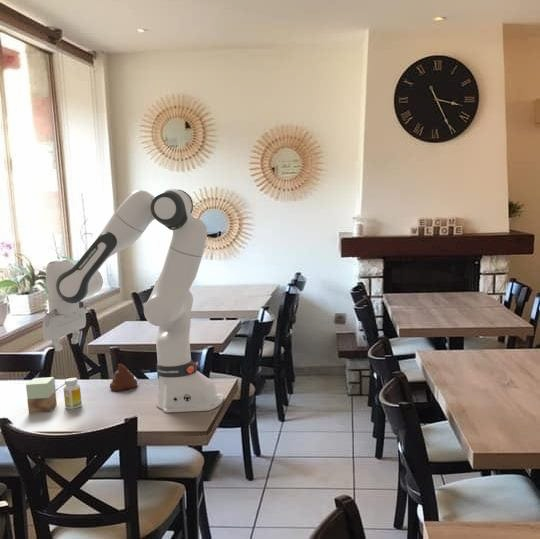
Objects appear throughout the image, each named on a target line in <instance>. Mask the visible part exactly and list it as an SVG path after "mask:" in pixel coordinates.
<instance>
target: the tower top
mask: <svg viewBox="0 0 540 539" xmlns="http://www.w3.org/2000/svg"><path fill="white" fill-rule="evenodd" d="M25 388H26V389H25V390H26V397H27V399H37V398H49V397H50V396H51V395H52V394H53V393H54V392H56V384H55V377H54V376H51V377H50V376H49V377H36V378H32V379H31V380H30V381H29V382H27V383H25Z"/></svg>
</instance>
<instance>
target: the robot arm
mask: <svg viewBox="0 0 540 539" xmlns="http://www.w3.org/2000/svg"><path fill="white" fill-rule="evenodd" d="M193 209H194V202H193V199H192V197H191V195H190V194H189V193H187V192H186V191H184V190H182V189H177V188H169V189H165V190H162V191H160V192H158V193H156V194H155V195H153V194H152V193H151V192H148V191H146V190H144V189H143V190H142V189H137V190H136V189H135V190H134V191H133V192H132V193H131V194H130V195H129V194H128V196H127V198H125V200H123V201H122V203H120V205H119V206H118V207H117V209H116V210H115V211H114V213H113V214H112V215H111V217H110V218H109V220H108V221H107V223H106V225H105V226H104V228H103V229H102V231H101V232H100V233H99V235H98V236H97V238H96V239H95V240H94V242H93V243H92V244H91V245H90V246H89V248H88V249H87V250H86V251H85V253H84V254H83V255H82V256H81V258H80V259H79V260H78V261H77V262H74V261H72V260H71V259H70V258H61V259H57V260H53V261H50V262H48V264H46V269H45V283H46V284H45V285H46V289H47V292H48V296H47V301H48V302H47V303H48V310H49V311H47V312H46V313H45V314H44V317H43V320H42V337H43V339H44V341H51V343H52V344H53V346H54V349H55V352H61V351H62V350H63V345H62V344H61V343H60V341H61V339H60V338H62V337H65V336H67V335H70V334H72V338H71V339H70V341H71V344H72V345H76V344H78V343H79V337H80V330H82V329H83V328H85V327H86V324H87V316H86V310H85V308H86V307H85V306H86V303H85V301H83V300H84V299H86V298H89V297H91V296H94V295H95V294H97V293H99V291H101V289H102V287H103V283H104V279H103V277H102V274H101V273H100V271H99V269H100V268H101V267H102V265H103V264H104V263H105V262H106V261H107V260H108V259H109V258H111V257H112V256H114V255H116V254H117V253H119V252H120V251H124V249H127V248H129V247H131V246H132V245H134V243H136V241H137V240H139V238H140V237H141V236H142V234H144V232H145V230H146V229H147V228H148V227H149V225H150V224H151V223H152V222H153V221H154V220H156V221H157V222H159V223H160V224H161V225H163V226H164V227H165V228H167V229H169V230H170V231H172V236H171V240H170V244H169V247H168V251H167V254H166V257H165V260H164V264H163V267H162V269H161V272H160V274H159V276H158V278H157V279H156V282H155V284H154V287H153V289H152V291H151V293H150V296H149V297H148V300H147V301H146V302H145V304H144V307H143V314H144V318H145V319H146V321H147V322H148V323H149V324H151V325H152V326H155V327H158V333H157V335H156V340H155V344H156V346H155V347H156V357H157V363H156V373H157V374H156V375H157V379H158V393H157V401H156V407H158V408H159V409H161V410H162V411H163V413H186V412H205V411H206V412H207V411H211V410H214V409H216V408H217V407H219V406H220V405H222V403H223V402H224V394H222V393H217V392H218V391H217V389H216V385H215V383H214V381H213V380H212V379H210V378H209V377H207V376H205V375H204V374H203V373H201V372H199V371H198V365H199V362H198V361H196V362H194V361H193V359H192V356H191V344H190V342H191V341H190V332H191V320H192V319H191V318H192V307H193V304H194V297H193V294H192V292H191V291H190V289H191V287H192V285H193V283H194V282H195V280H196V277H197V275H198V271H199V268H200V265H201V262H202V259H203V255H204V252H205V248H206V243H207V235H208V227H207V225H206V223H205V222H204V221H203V220H201V219H200V218H197V217H195V216H193V214H192V213H193Z"/></svg>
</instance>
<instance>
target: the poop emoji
mask: <svg viewBox="0 0 540 539" xmlns="http://www.w3.org/2000/svg"><path fill="white" fill-rule="evenodd" d="M137 385H138V381H137V379H136V378H135V376H134V373H132V372H131V371H130V370H129V369H128V368H127V366H125V365H124V364H122V363H118V367H117V370H116V371H115V372H114V375H113V377H112V382H110V383H109V389H110V390H111V391H112V392H113V391H114V392H120V391H123V390H131V389H132V390H133V389H135V388H136V387H137Z"/></svg>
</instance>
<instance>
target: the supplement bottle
mask: <svg viewBox="0 0 540 539" xmlns="http://www.w3.org/2000/svg"><path fill="white" fill-rule="evenodd" d="M81 393H82V392H81V386H80V384H79V383H78V378H77V377H70V378H66V379H65V380H64V386H63V396H64V397H63V398H64V406H65V408H66V409H68V410H73V409H78V408H79V407H81V406H82V394H81Z"/></svg>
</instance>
